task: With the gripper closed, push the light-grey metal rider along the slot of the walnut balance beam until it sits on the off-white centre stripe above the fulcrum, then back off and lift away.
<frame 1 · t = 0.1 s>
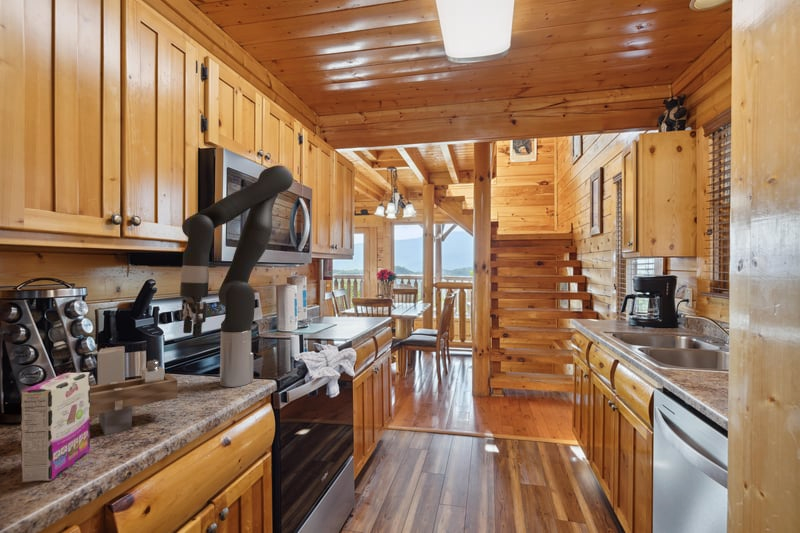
hand: (191, 334, 116), 17 cm above the worktop, tool pointing down, fingers open, 8 cm apart
rider: (152, 375, 96), point 11 cm above the worktop, slide at -7.5 cm
beam: (115, 426, 91), on the worktop
skincare box: (111, 402, 107), on the worktop
candy bar box: (57, 467, 73), on the worktop
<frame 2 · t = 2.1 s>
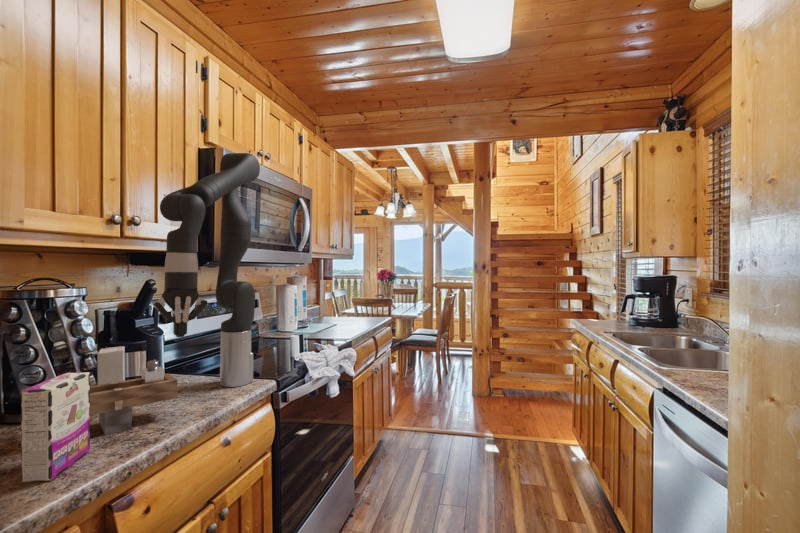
hand: (180, 336, 101), 20 cm above the worktop, tool pointing down, fingers closed
nothing on the worktop moved.
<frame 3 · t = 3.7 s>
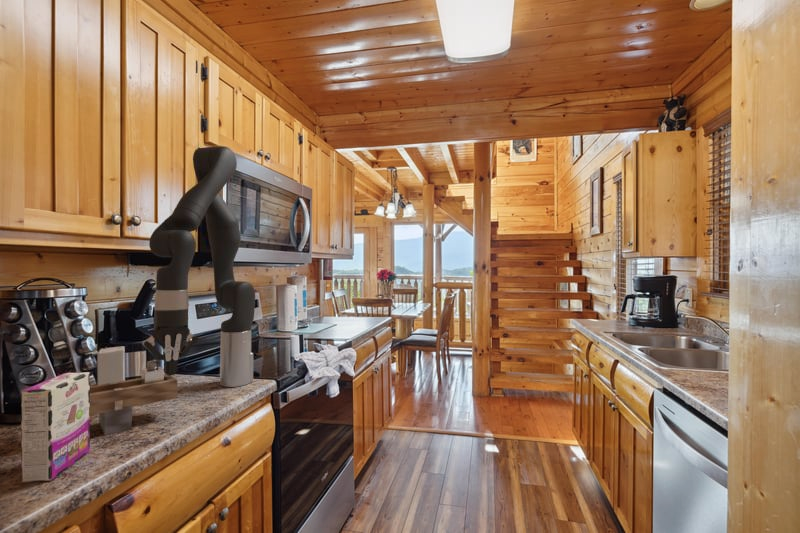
hand: (170, 374, 99), 10 cm above the worktop, tool pointing down, fingers closed
rider: (152, 375, 96), point 11 cm above the worktop, slide at -7.5 cm, touching gripper
everything else where it was.
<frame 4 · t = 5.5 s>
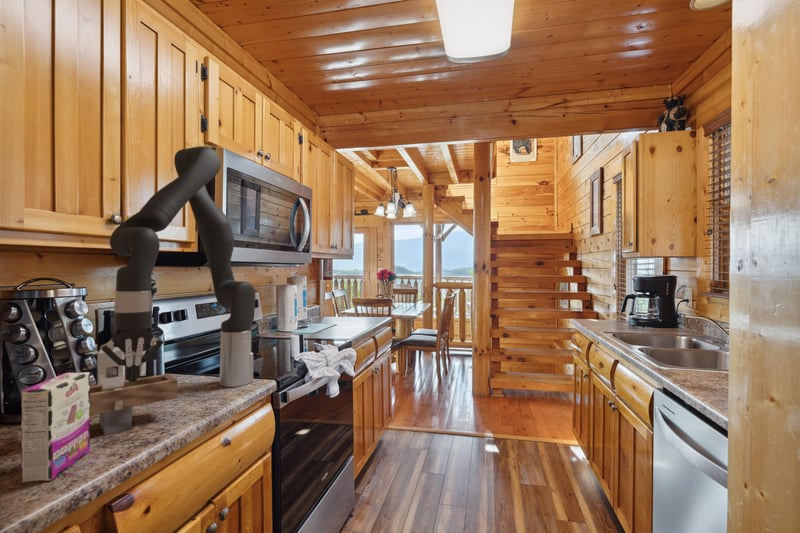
hand: (132, 380, 93), 10 cm above the worktop, tool pointing down, fingers closed
rider: (112, 381, 90), point 11 cm above the worktop, slide at 0.7 cm, touching gripper
everything else where it was.
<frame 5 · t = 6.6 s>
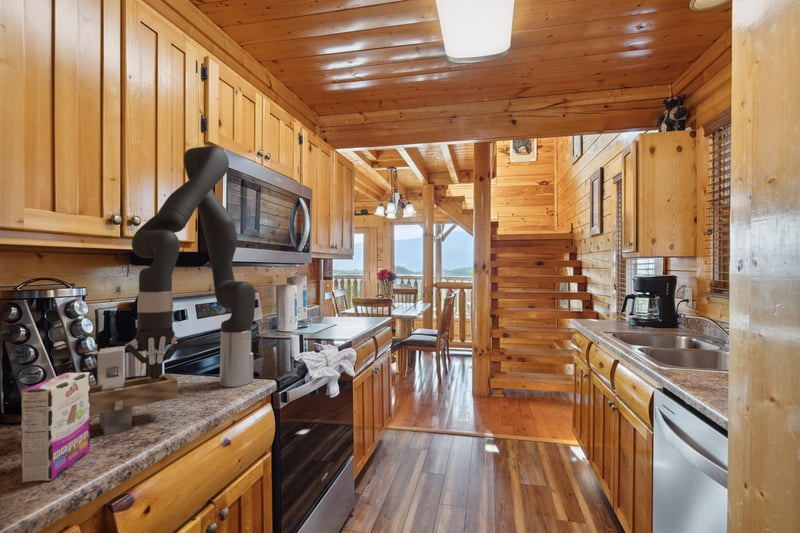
hand: (154, 378, 97), 10 cm above the worktop, tool pointing down, fingers closed
rider: (111, 381, 90), point 11 cm above the worktop, slide at 0.8 cm
everything else where it was.
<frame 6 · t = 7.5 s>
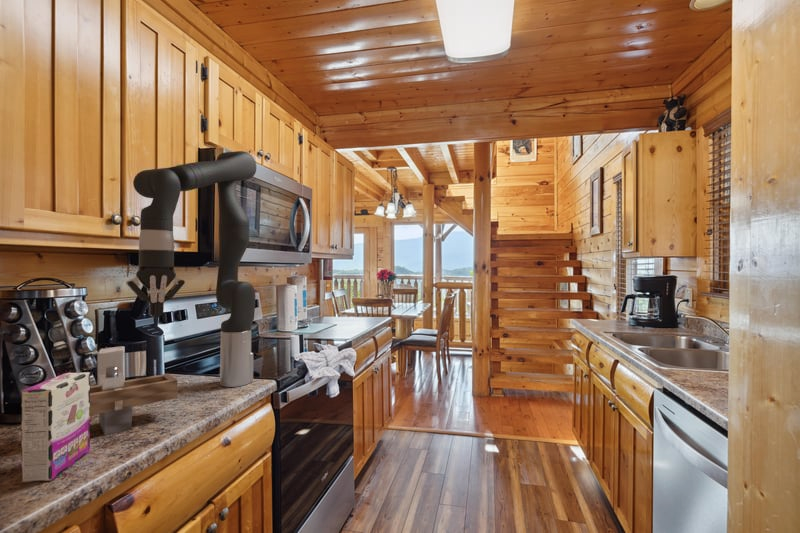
hand: (156, 317, 97), 25 cm above the worktop, tool pointing down, fingers closed
nothing on the worktop moved.
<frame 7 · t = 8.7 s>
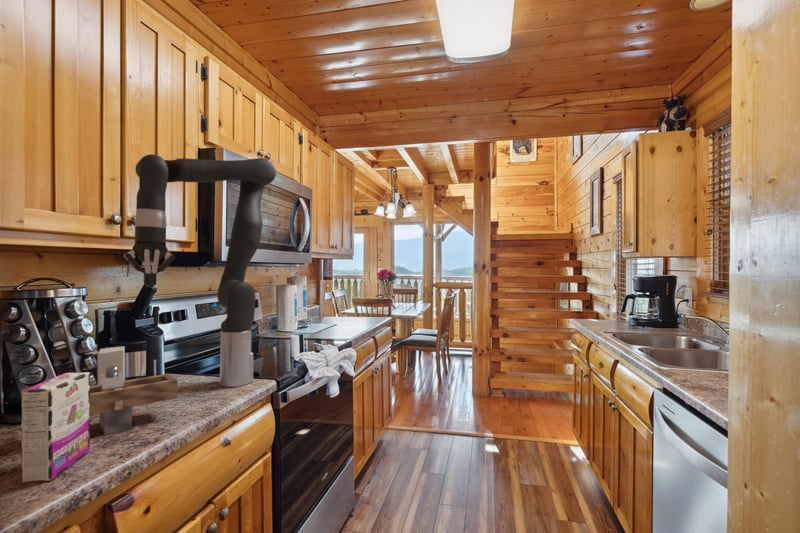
hand: (149, 286, 110), 32 cm above the worktop, tool pointing down, fingers closed
nothing on the worktop moved.
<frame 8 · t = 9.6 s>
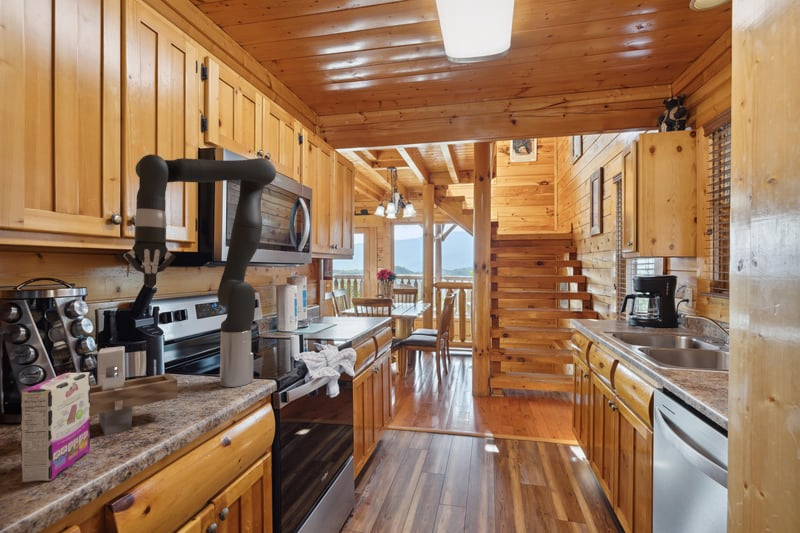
hand: (149, 286, 110), 32 cm above the worktop, tool pointing down, fingers closed
nothing on the worktop moved.
at the end: rider slide at 0.8 cm; rider touching nothing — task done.
